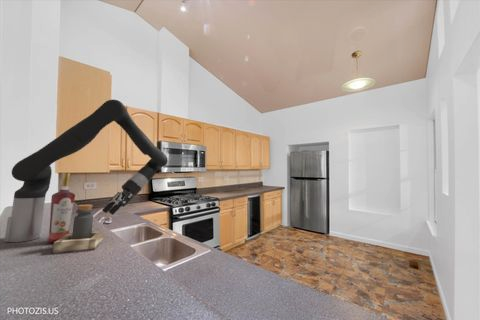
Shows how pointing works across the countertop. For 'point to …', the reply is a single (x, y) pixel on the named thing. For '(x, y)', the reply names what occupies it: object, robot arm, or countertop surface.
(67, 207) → the liquor
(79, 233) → the bottle
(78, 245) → the wooden tray
